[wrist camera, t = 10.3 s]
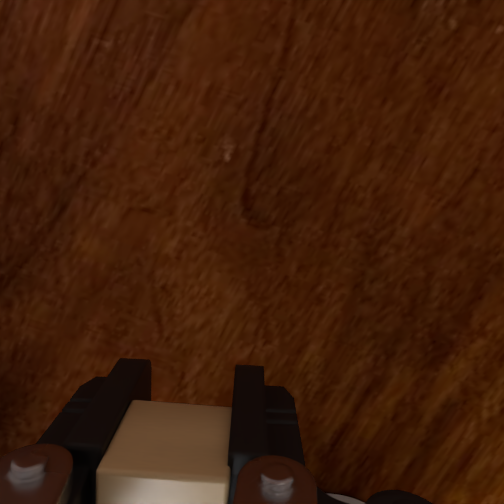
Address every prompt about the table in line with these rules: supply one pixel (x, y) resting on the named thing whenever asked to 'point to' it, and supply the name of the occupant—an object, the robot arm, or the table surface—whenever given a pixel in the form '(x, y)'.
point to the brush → (167, 456)
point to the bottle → (346, 499)
